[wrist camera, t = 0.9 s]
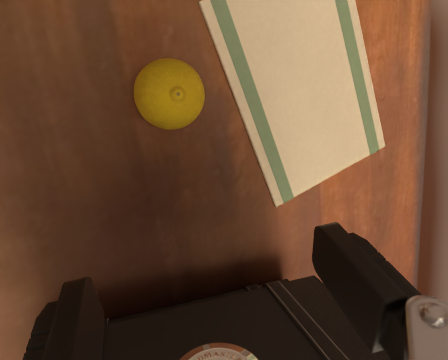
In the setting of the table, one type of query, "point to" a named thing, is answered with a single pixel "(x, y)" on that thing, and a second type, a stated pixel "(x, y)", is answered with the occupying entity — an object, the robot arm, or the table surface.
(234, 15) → the napkin
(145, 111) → the lemon
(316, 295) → the watch box
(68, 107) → the table surface
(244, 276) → the table surface
